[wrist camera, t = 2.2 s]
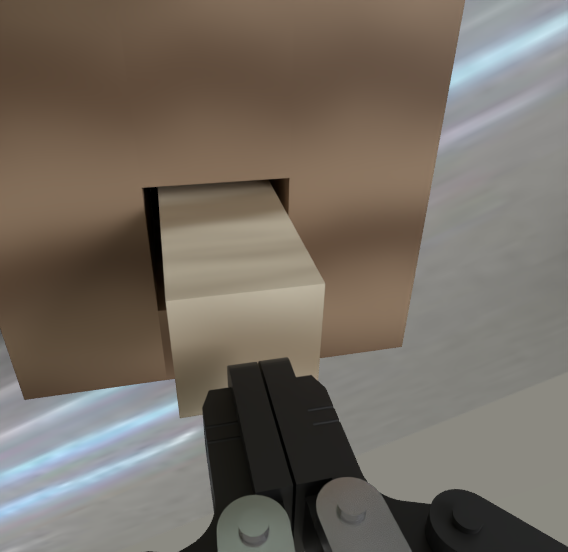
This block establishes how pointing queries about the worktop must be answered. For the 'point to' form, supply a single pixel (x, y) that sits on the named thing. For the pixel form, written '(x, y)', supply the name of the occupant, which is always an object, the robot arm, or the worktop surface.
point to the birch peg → (235, 285)
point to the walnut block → (207, 162)
